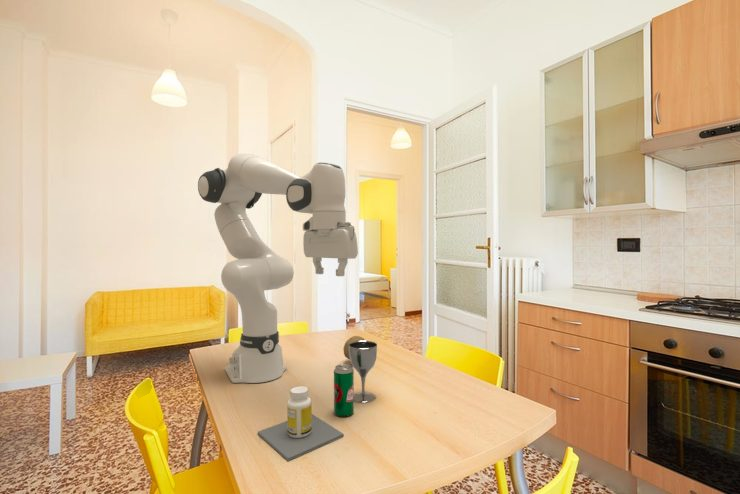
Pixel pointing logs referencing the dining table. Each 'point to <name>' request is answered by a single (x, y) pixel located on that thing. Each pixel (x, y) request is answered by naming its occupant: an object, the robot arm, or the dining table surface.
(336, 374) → the soda can
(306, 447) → the mat
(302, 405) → the supplement bottle
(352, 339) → the natural sponge
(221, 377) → the dining table surface
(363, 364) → the wine glass
